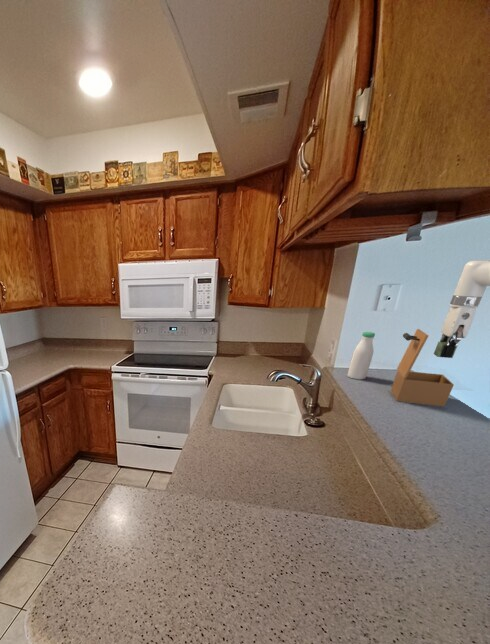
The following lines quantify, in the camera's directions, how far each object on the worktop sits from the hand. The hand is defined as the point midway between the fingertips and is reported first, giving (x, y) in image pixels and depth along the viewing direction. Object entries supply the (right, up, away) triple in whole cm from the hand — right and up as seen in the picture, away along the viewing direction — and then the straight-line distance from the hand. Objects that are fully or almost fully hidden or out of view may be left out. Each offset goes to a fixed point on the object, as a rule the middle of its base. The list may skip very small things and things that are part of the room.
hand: (443, 354), depth 119 cm
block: (0, 0, 0) cm, 0 cm away
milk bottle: (-13, -3, +32) cm, 35 cm away
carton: (-3, -15, +10) cm, 18 cm away
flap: (-8, +1, +4) cm, 9 cm away
